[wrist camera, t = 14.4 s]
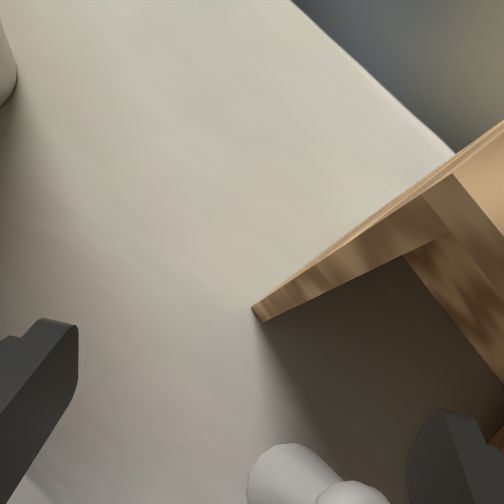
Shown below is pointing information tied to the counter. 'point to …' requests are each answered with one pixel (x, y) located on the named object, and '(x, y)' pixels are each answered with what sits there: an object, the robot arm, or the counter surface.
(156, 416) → the counter surface
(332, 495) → the salt shaker
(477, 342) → the open-side box
